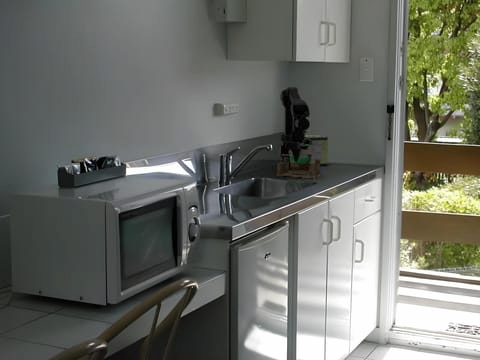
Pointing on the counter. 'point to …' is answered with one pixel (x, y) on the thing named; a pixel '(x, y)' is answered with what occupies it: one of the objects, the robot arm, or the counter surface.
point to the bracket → (284, 171)
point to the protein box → (318, 148)
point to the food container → (301, 160)
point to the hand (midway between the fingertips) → (298, 161)
